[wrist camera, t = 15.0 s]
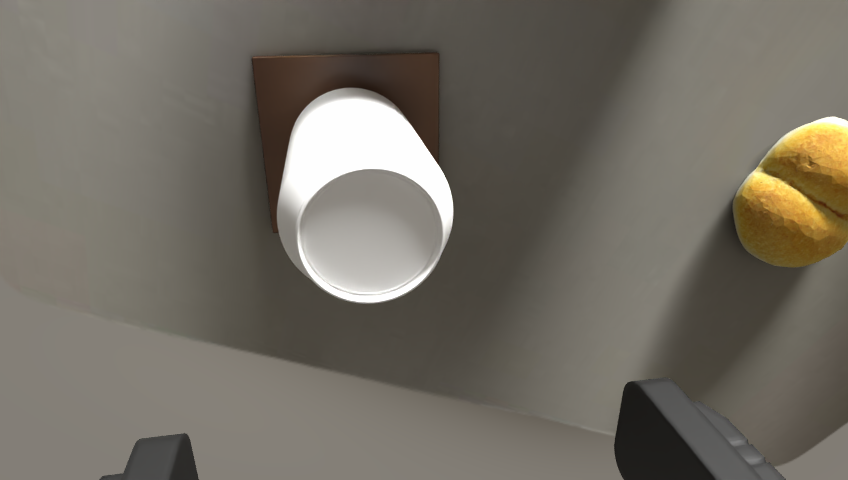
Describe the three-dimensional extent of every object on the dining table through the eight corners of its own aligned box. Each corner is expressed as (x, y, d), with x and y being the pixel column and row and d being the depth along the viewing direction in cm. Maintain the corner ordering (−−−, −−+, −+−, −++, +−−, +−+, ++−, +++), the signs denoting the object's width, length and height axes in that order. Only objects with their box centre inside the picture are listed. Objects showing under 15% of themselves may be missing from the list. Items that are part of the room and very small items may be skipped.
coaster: (273, 229, 31) (272, 233, 31) (252, 56, 27) (251, 57, 27) (436, 218, 32) (438, 222, 32) (437, 52, 29) (439, 53, 28)
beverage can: (435, 138, 30) (502, 224, 19) (359, 224, 31) (382, 351, 20) (342, 56, 28) (359, 102, 17) (264, 153, 29) (232, 254, 18)
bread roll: (701, 223, 36) (744, 250, 32) (800, 95, 33) (858, 109, 30) (785, 275, 38) (833, 306, 35) (882, 161, 36) (945, 181, 32)
